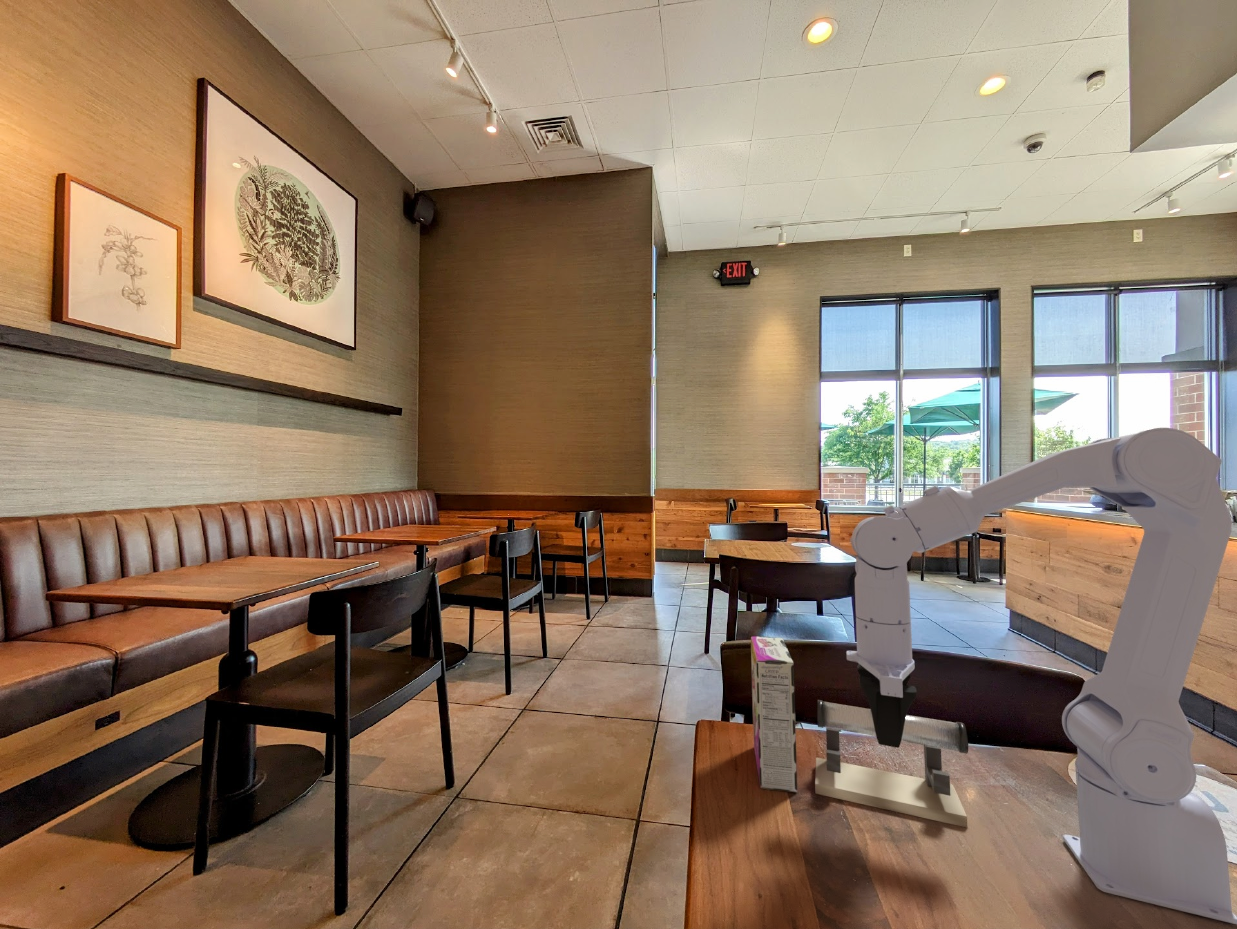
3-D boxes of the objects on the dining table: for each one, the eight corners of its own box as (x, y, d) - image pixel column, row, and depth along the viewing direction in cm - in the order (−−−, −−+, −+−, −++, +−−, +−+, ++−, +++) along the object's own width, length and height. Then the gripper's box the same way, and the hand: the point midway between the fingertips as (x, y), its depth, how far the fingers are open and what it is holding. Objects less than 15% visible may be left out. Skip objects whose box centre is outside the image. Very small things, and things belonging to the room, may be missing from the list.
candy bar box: (751, 746, 73) (749, 635, 74) (786, 749, 72) (784, 637, 73) (757, 790, 62) (755, 658, 63) (798, 794, 61) (795, 661, 62)
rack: (953, 794, 61) (950, 744, 62) (967, 827, 55) (964, 772, 55) (816, 766, 67) (815, 721, 68) (815, 793, 61) (814, 744, 62)
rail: (962, 745, 55) (960, 718, 55) (969, 758, 52) (967, 730, 52) (818, 720, 61) (817, 696, 61) (817, 731, 58) (817, 705, 58)
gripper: (843, 603, 65) (846, 707, 64) (847, 630, 52) (851, 761, 51) (903, 608, 63) (908, 717, 62) (923, 637, 49) (929, 776, 48)
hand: (887, 738), depth 56 cm, fingers closed on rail, 3 cm apart
